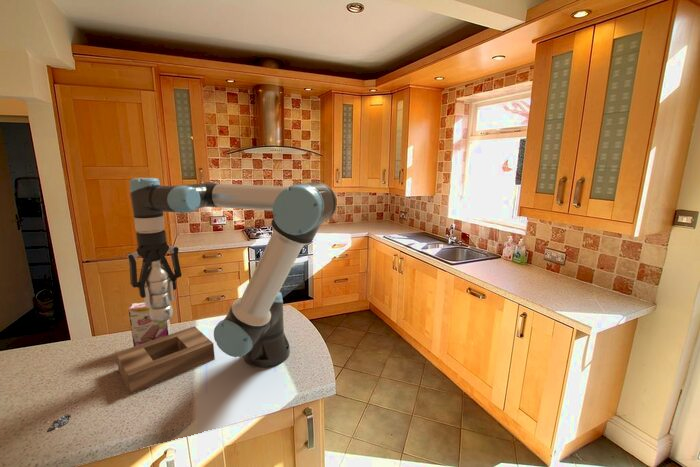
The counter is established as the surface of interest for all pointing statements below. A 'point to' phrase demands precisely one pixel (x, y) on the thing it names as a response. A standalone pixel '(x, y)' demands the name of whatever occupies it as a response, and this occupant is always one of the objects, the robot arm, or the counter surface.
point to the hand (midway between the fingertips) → (160, 302)
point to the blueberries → (59, 422)
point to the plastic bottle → (158, 292)
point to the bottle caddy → (163, 358)
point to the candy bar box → (145, 325)
